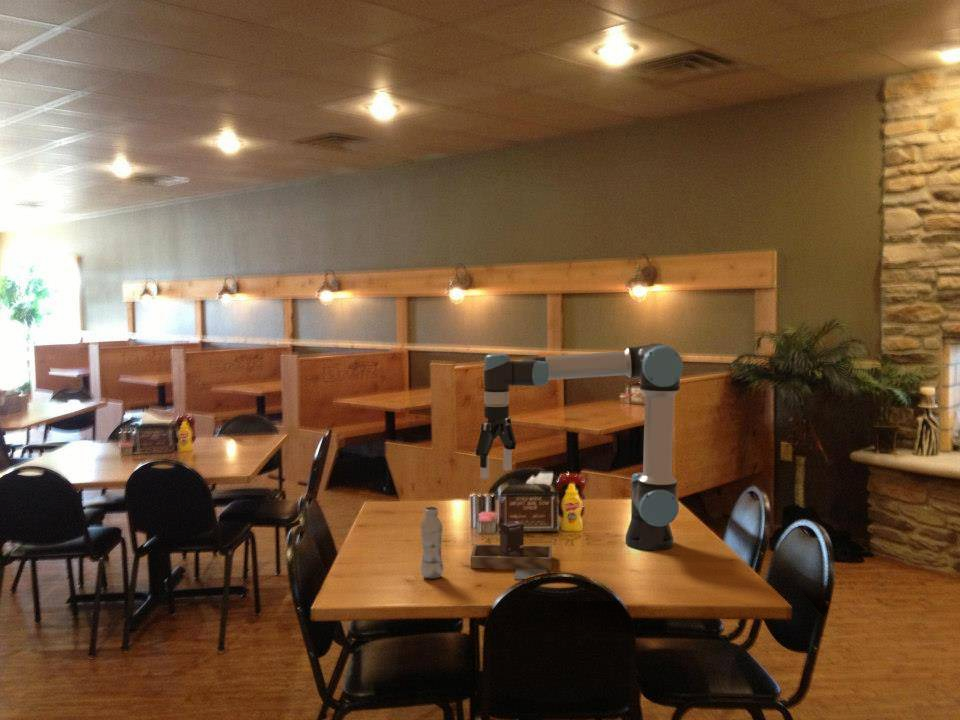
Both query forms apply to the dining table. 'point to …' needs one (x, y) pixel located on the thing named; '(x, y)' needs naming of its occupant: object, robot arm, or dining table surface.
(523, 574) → the tile
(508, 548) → the box
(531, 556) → the brown shallow rectangular container
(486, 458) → the robot arm
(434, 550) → the plastic bottle
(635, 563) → the dining table surface
